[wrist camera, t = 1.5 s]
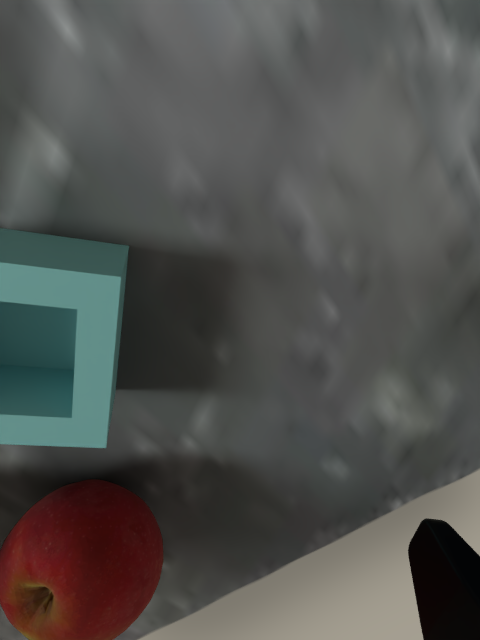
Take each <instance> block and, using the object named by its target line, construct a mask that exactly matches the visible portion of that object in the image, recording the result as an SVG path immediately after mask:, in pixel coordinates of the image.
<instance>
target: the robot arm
mask: <svg viewBox="0 0 480 640" xmlns="http://www.w3.org/2000/svg"><path fill="white" fill-rule="evenodd" d="M408 554H409V561H410V566H411V573H412V578H413V584H414V589H415V595H416V600H417V606H418V612H419V617H420V623H421V628H422V633H423V638H424V640H480V556H479V555H478V554H477V553H476V552H475V551H474V550H473V549H472V548H471V547H470V546H469V545H468V544H467V543H466V542H465V541H464V540H463V538H461V536H459V534H458V533H457V532H456V531H455V530H454V529H453V528H452V527H451V526H450V525H449V524H448V523H446V522H445V521H442V520H436V519H424V520H423V521H422V522H421V523H420V525H419V527H418V529H417V531H416V532H415V534H414V536H413V538H412V540H411V542H410V544H409V549H408Z"/></svg>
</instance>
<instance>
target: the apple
mask: <svg viewBox="0 0 480 640" xmlns="http://www.w3.org/2000/svg"><path fill="white" fill-rule="evenodd" d="M162 565H163V541H162V536H161V532H160V529H159V526H158V524H157V521H156V519H155V517H154V515H153V513H152V512H151V510H150V509H149V507H148V506H147V504H146V503H145V502H144V501H143V500H142V499H141V498H140V497H139V496H137V495H136V494H134V493H133V492H131V491H129V490H127V489H126V488H124V487H121V486H119V485H116V484H114V483H111V482H107V481H104V480H99V479H89V480H84V481H80V482H76V483H72V484H68V485H65V486H63V487H60V488H58V489H57V490H55V491H53V492H51V493H50V494H48V495H47V496H45V497H44V498H42V499H41V500H40V501H38V502H37V503H36V504H35V505H33V506H32V507H31V508H30V509H29V510H28V511H27V512H26V513H25V514H24V515H23V517H22V518H21V519H20V520H19V521H18V522H17V524H16V525H15V526H14V527H13V529H12V530H11V531H10V533H9V535H8V536H7V538H6V539H5V541H4V543H3V545H2V548H1V550H0V604H1V606H2V608H3V610H4V612H5V615H6V617H7V618H8V620H9V621H10V623H11V624H12V625H13V626H14V627H15V628H16V629H17V630H18V631H19V632H21V633H22V634H23V635H24V636H25V637H27V638H28V639H29V640H113V639H114V638H116V637H117V636H118V635H120V634H121V633H122V632H124V631H125V630H126V629H127V628H128V627H129V626H130V625H131V624H132V623H133V622H134V621H135V620H136V619H137V618H138V617H139V615H140V614H141V613H142V612H143V610H144V609H145V608H146V606H147V605H148V603H149V602H150V600H151V598H152V596H153V594H154V592H155V590H156V587H157V585H158V582H159V579H160V575H161V569H162Z"/></svg>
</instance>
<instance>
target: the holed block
mask: <svg viewBox="0 0 480 640" xmlns="http://www.w3.org/2000/svg"><path fill="white" fill-rule="evenodd" d="M128 251H129V246H127V245H119V244H112V243H105V242H98V241H91V240H83V239H76V238H69V237H62V236H54V235H47V234H40V233H33V232H25V231H18V230H11V229H4V228H0V444H13V445H39V446H65V447H91V448H106V445H107V439H108V433H109V427H110V421H111V415H112V409H113V403H114V397H115V391H116V381H117V370H118V359H119V348H120V337H121V327H122V316H123V305H124V294H125V283H126V273H127V262H128Z"/></svg>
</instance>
